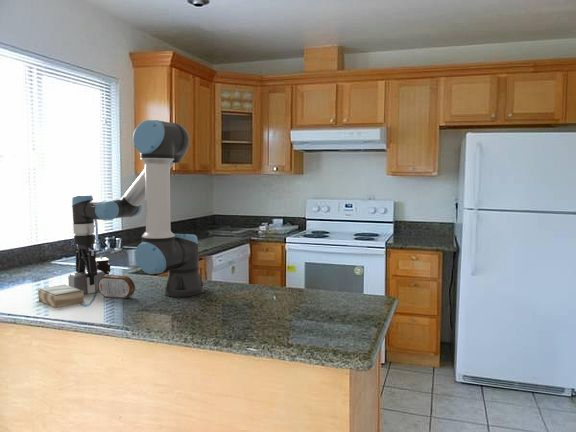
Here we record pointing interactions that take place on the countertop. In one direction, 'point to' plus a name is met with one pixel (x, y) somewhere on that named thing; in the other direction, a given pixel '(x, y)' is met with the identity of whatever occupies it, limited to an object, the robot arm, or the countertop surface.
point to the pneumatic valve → (103, 265)
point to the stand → (60, 295)
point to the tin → (116, 286)
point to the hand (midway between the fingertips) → (87, 291)
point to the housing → (84, 280)
